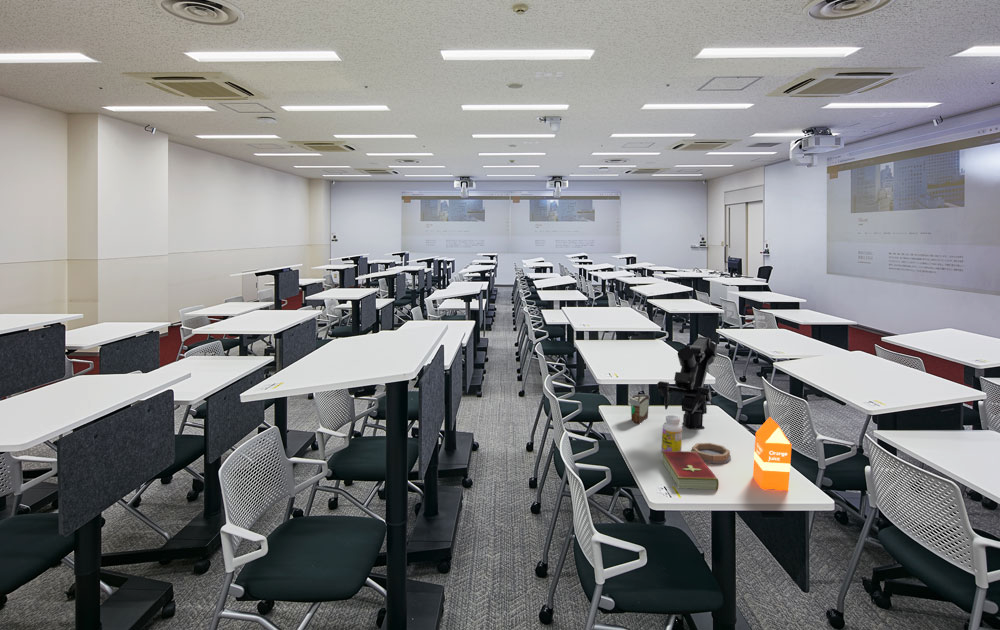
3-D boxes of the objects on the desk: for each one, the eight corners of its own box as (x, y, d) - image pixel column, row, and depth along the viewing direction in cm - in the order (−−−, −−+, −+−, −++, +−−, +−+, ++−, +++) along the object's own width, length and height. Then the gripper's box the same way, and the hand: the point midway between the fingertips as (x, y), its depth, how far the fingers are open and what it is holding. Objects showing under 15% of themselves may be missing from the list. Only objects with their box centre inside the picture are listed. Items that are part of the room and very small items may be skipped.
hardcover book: (696, 462, 181) (697, 450, 180) (718, 491, 160) (719, 477, 160) (661, 461, 182) (661, 450, 181) (677, 490, 161) (678, 476, 160)
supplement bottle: (657, 450, 191) (658, 415, 189) (672, 447, 193) (673, 413, 191) (670, 457, 184) (671, 421, 183) (685, 454, 187) (686, 419, 185)
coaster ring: (718, 448, 192) (719, 441, 192) (738, 463, 179) (738, 455, 179) (684, 449, 191) (684, 442, 190) (701, 464, 178) (701, 457, 178)
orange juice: (778, 478, 168) (782, 417, 165) (788, 491, 159) (793, 426, 156) (752, 476, 169) (756, 416, 166) (761, 489, 160) (765, 425, 158)
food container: (635, 414, 230) (635, 392, 229) (648, 417, 226) (649, 394, 225) (624, 422, 220) (624, 399, 219) (638, 425, 217) (639, 401, 215)
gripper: (659, 360, 200) (648, 395, 193) (711, 366, 190) (702, 404, 183) (664, 376, 208) (654, 410, 200) (714, 383, 198) (706, 419, 190)
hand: (678, 411), depth 193 cm, fingers open, 9 cm apart
